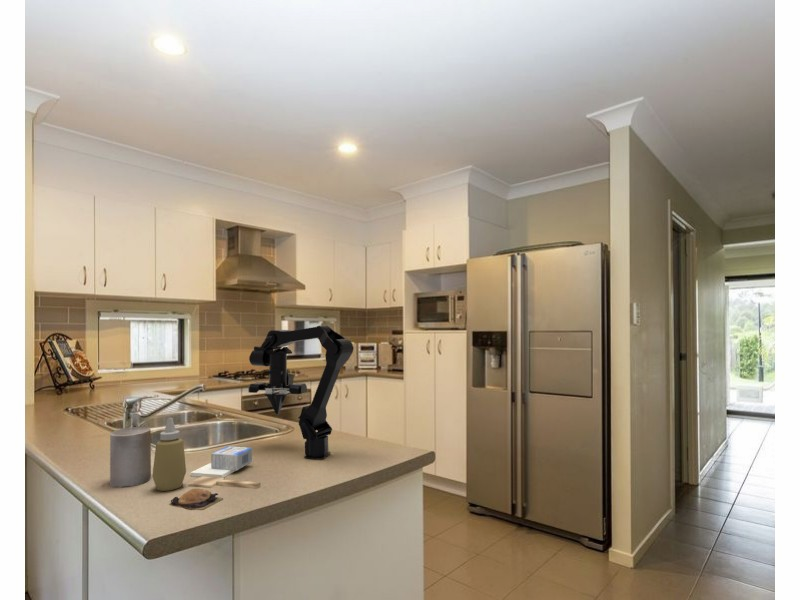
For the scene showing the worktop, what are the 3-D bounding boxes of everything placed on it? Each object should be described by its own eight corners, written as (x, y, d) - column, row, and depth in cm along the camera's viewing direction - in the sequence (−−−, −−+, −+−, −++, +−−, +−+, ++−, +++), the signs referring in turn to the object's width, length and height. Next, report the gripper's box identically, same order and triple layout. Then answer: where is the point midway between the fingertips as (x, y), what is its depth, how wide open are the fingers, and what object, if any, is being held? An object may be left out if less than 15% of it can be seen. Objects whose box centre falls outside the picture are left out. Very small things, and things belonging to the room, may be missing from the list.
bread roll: (225, 501, 115) (226, 485, 115) (200, 514, 107) (200, 497, 108) (192, 495, 119) (192, 480, 119) (164, 507, 111) (165, 491, 111)
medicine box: (237, 455, 133) (210, 452, 135) (237, 471, 133) (210, 468, 135) (252, 447, 141) (227, 445, 143) (252, 462, 141) (226, 460, 143)
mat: (252, 461, 145) (252, 458, 145) (221, 478, 130) (222, 474, 130) (224, 459, 148) (224, 456, 148) (190, 476, 132) (190, 472, 132)
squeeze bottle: (163, 495, 118) (164, 422, 118) (145, 489, 122) (146, 419, 123) (192, 485, 124) (193, 416, 125) (174, 480, 129) (175, 413, 129)
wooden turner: (264, 483, 126) (264, 479, 126) (252, 491, 120) (252, 487, 120) (202, 478, 130) (202, 474, 130) (187, 486, 124) (187, 482, 124)
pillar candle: (137, 473, 135) (137, 420, 135) (158, 478, 130) (158, 424, 130) (102, 484, 126) (102, 428, 127) (122, 490, 122) (122, 432, 122)
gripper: (312, 365, 165) (312, 410, 164) (263, 364, 168) (262, 408, 167) (300, 368, 154) (300, 416, 153) (247, 367, 157) (247, 414, 157)
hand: (277, 413), depth 158 cm, fingers closed
